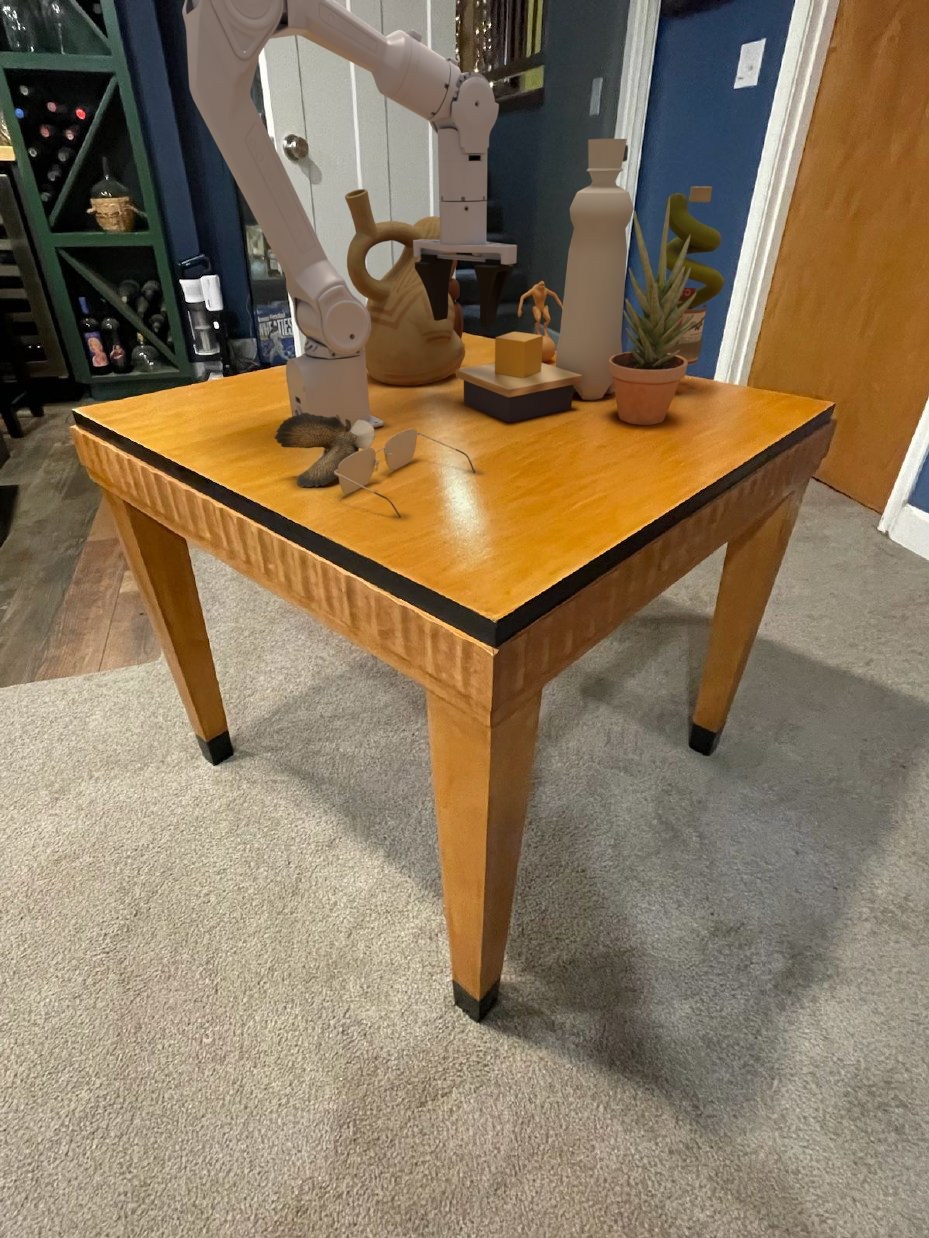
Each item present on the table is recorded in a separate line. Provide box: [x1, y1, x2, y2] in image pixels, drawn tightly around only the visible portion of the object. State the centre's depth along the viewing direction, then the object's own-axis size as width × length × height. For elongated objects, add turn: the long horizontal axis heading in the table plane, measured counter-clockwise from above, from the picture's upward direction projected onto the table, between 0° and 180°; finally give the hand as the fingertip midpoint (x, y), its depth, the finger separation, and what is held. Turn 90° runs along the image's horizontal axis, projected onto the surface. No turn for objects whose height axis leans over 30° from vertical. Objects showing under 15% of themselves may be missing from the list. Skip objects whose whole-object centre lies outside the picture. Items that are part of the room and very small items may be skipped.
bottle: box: [555, 138, 635, 401], centre depth 91 cm, size 9×9×30 cm
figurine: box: [517, 280, 563, 363], centre depth 112 cm, size 8×6×12 cm
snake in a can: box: [665, 186, 725, 366], centre depth 94 cm, size 12×10×25 cm
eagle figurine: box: [273, 413, 376, 488], centre depth 73 cm, size 8×7×9 cm
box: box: [455, 362, 582, 424], centre depth 92 cm, size 12×12×4 cm
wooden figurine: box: [448, 277, 464, 339], centre depth 120 cm, size 7×6×15 cm
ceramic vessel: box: [344, 188, 466, 386], centre depth 101 cm, size 17×20×25 cm
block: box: [494, 331, 544, 378], centre depth 90 cm, size 4×4×4 cm
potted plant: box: [609, 195, 696, 426], centre depth 82 cm, size 10×10×25 cm
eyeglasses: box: [334, 428, 477, 518], centre depth 70 cm, size 14×8×4 cm, turn 147°
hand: (463, 322), depth 90 cm, fingers open, 7 cm apart
